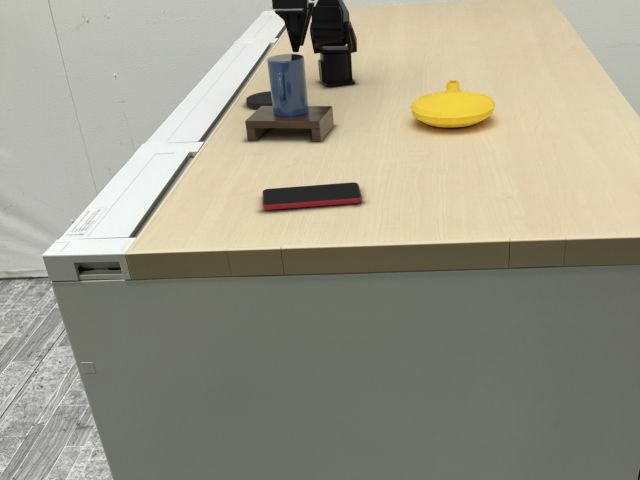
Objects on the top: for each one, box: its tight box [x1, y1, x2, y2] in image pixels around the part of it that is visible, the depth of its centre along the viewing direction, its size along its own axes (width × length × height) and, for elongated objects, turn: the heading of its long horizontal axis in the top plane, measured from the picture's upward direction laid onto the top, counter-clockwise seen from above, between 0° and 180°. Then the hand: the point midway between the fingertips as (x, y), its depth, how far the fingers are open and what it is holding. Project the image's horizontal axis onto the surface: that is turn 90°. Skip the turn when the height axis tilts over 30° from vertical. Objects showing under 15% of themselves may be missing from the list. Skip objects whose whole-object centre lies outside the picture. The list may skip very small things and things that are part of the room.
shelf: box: [244, 105, 335, 143], centre depth 153 cm, size 10×14×4 cm
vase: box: [410, 79, 496, 128], centre depth 152 cm, size 16×16×7 cm
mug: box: [266, 53, 309, 117], centre depth 149 cm, size 8×7×9 cm
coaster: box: [245, 90, 272, 111], centre depth 171 cm, size 10×10×1 cm
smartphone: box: [262, 182, 363, 211], centre depth 126 cm, size 7×1×15 cm
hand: (298, 48), depth 157 cm, fingers open, 9 cm apart
